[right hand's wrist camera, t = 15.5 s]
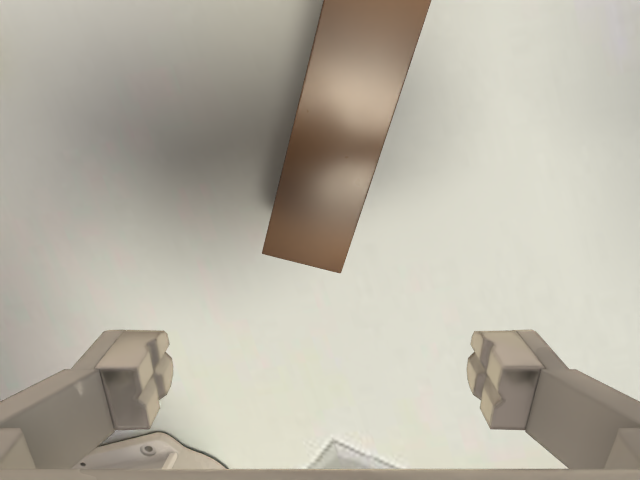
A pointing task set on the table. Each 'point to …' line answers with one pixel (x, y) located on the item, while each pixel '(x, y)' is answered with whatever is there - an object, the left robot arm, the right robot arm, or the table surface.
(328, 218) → the bar
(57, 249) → the table surface
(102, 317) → the table surface
